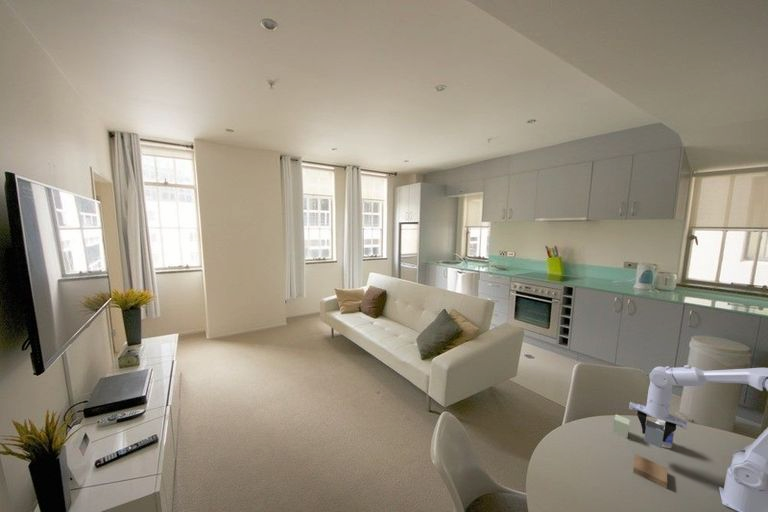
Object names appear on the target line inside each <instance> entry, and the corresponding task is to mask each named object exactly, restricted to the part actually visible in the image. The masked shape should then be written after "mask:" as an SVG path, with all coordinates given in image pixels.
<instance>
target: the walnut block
mask: <svg viewBox="0 0 768 512" xmlns="http://www.w3.org/2000/svg"><path fill="white" fill-rule="evenodd" d="M667 469H668V468H667V467H665V466H664V465H661V464H659V463H657V462H655V461H652V460H650V459H648V458H647V457H643V456H642V455H639V454H637V453H634V459H633V470H632V473H633V474H635V475H637V476H639V477H641V478H643V479H646V480H648V481H649V482H652V483H654V484H656V485H658V486H661V487H662V488H664V489H667V488H668V487H667V486H668V470H667Z"/></svg>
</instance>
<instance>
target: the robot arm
mask: <svg viewBox="0 0 768 512" xmlns="http://www.w3.org/2000/svg"><path fill="white" fill-rule="evenodd" d="M648 379H649V386H648V390H647V391H648V392H647V399H646V405H643V404H639V403H634V402H633V401H630V402H629V405H628V409H629V410H630V411H633V410H634V411H636V412H637V413H636V414H637V418H638V421H639V422H640V425H641V430H642V431H641V433H642V434H644V435H645V429H646V421H647V418H648V417H647V416H650V417H652V418H654V419H656V420H657V419H659V420H663V421H665V428H664V436H663V442H665V441H666V439H667V437H668V436H669V435H670V434H671V433H672V432H674V433H675V431H676V429H677V427H680V428H681V429H683V430H686V431H687V430H688V421H685V420H683V419H681V418H678V417H676V416H675V415H672V414H670V410H671V409H670V408H671V402H672V397H673V396H672V394H673V392H672V391H673V386H676V387H705V386H706V385H707V384H708V383H723V384H744V385H745V384H746V385H749V386H750V387H753V388H755V389H756V390H758V391H761V392H763V390H764V388H765V389H766V391H767V392H768V367H752V368H734V369H733V368H732V369H730V368H729V369H717V370H716V369H715V370H714V369H713V370H703V369H700V368H699V367H696V366H691V365H689V364H688V365H687V364H684V365H683V366H682V367H679V366H677V367H671V366H669V365H668V366H665V367H664V366H656V367H654V368H653V369H652V370H651V372H650V373H649V375H648ZM731 455H732V456H731V457H732V459H731V464H730V466H729V467H727V470H726V475H725V480H724V486H723V487H721V486H718V487H719V488H718V490H719V494H720V498H721V503H722V505H723V506H724V507H728V508H729V509H732V510H734V511H736V512H768V485H767V477H768V426H767V427H766V428H765V429H764V430H763V432H762V433H761V434H760V435H759V436H758V437H757V438H755V440H754V441H753V442H752V443H751V444H749V445H746V446H745V447H744V448H741V449H737V450H734V451H733V453H732V454H731Z"/></svg>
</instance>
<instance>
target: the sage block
mask: <svg viewBox="0 0 768 512" xmlns="http://www.w3.org/2000/svg"><path fill="white" fill-rule="evenodd" d="M630 421H631V419H629V418H626V417H624V416H621V415H619V414H616V413H615V415H614V419H613V426H612V434H614V433H615V434H614V435H616V436H618V437H621V438H623V439H626V440H628V437H629V431H630V429H629V428H630V423H631V422H630Z"/></svg>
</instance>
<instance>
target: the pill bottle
mask: <svg viewBox="0 0 768 512" xmlns="http://www.w3.org/2000/svg"><path fill="white" fill-rule="evenodd" d="M654 423H657V424H659V425H662V426H664V428H665V421H663V420H659V419H656V421H655V422H654ZM674 435H675V431H674V432H672V433H671V434H670V435H669V436H668V437H667V439H666V441H665V442H662V447H663V449H672V447H673V442H674Z"/></svg>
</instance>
